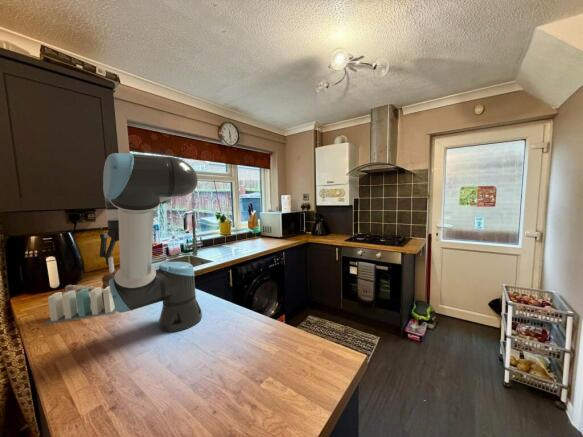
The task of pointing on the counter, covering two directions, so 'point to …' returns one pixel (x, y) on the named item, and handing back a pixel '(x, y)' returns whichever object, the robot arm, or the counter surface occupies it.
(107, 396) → the counter surface
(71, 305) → the domino
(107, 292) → the domino
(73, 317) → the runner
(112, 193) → the robot arm
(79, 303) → the teal domino
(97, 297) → the domino
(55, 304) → the domino
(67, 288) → the rock
